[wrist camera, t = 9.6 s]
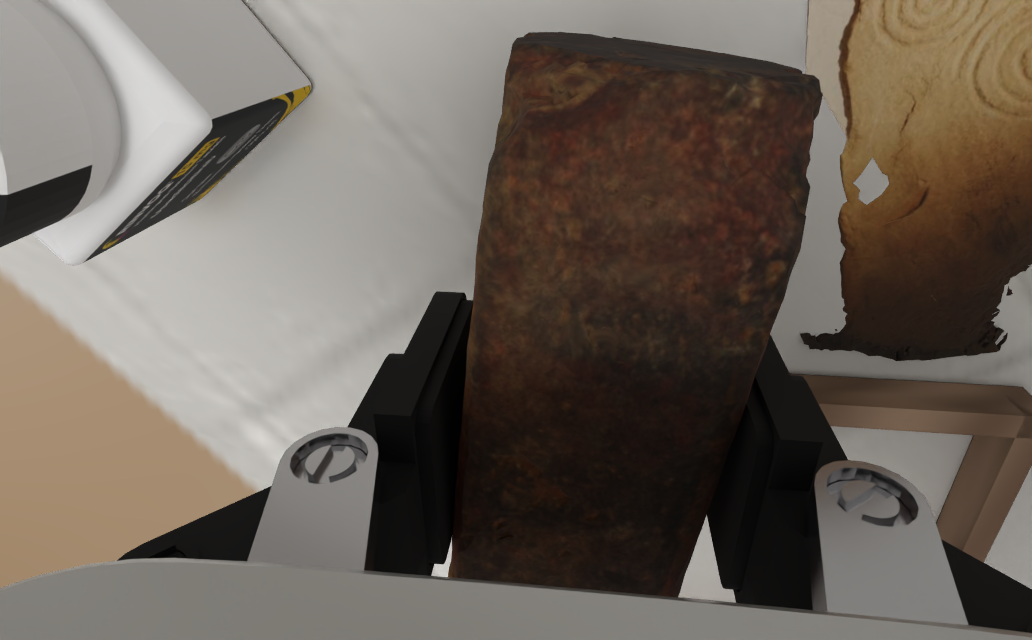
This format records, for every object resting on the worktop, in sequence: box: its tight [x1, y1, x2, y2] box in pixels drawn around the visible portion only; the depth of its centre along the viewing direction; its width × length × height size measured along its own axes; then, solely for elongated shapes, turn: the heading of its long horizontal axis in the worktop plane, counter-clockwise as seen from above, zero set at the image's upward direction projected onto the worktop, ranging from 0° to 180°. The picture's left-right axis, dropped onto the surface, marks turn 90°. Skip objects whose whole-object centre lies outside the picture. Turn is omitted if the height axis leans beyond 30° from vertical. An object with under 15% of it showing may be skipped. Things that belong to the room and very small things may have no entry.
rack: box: [790, 374, 1032, 562], centre depth 30 cm, size 16×24×3 cm
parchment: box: [800, 0, 1032, 361], centre depth 19 cm, size 25×10×1 cm, turn 10°
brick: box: [448, 32, 823, 598], centre depth 11 cm, size 11×4×5 cm, turn 173°
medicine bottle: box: [0, 0, 311, 266], centre depth 17 cm, size 7×7×12 cm
